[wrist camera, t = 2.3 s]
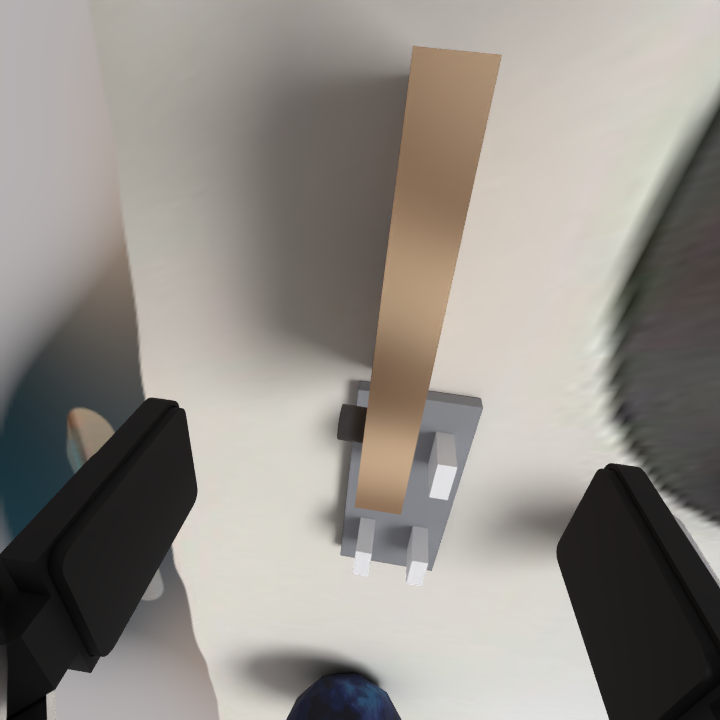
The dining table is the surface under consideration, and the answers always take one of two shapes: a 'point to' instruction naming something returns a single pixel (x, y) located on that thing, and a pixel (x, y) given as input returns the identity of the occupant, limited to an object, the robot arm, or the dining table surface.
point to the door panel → (419, 261)
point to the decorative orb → (343, 700)
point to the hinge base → (414, 490)
